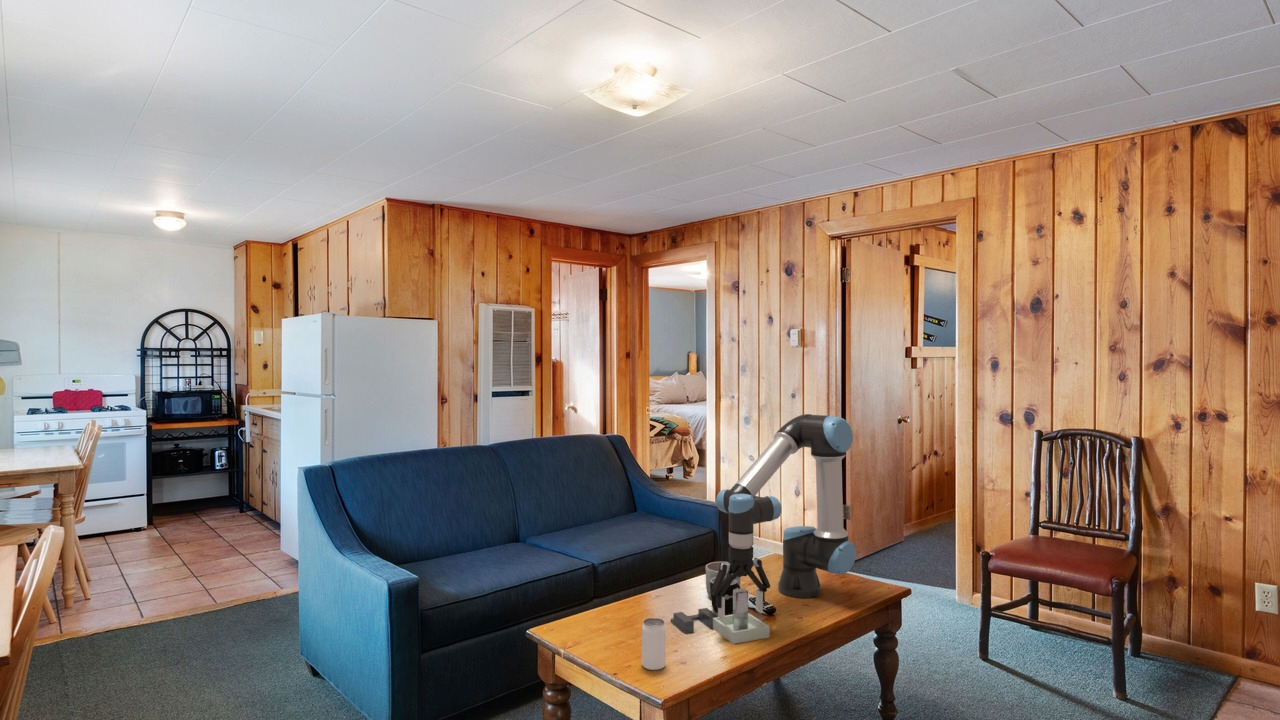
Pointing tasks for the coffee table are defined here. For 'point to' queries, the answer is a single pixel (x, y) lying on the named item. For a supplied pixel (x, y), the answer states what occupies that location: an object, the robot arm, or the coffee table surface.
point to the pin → (740, 609)
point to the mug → (727, 595)
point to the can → (653, 644)
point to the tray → (752, 633)
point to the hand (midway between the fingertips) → (740, 614)
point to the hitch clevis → (687, 622)
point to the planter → (715, 574)
